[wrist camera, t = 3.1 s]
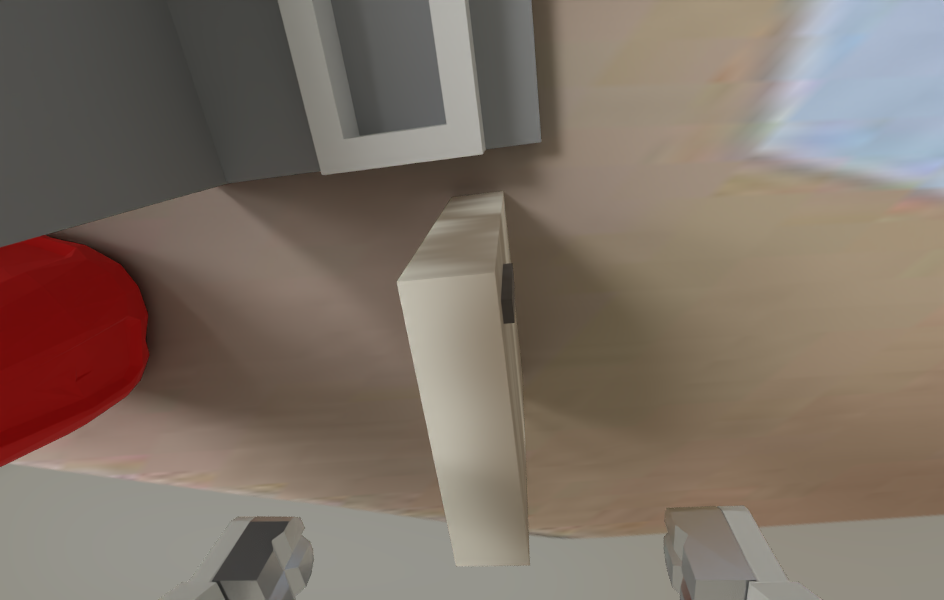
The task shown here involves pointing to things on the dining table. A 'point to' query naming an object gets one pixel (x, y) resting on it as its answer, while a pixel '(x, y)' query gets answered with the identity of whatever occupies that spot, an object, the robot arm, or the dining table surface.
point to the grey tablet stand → (244, 95)
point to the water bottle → (64, 340)
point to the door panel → (471, 377)
